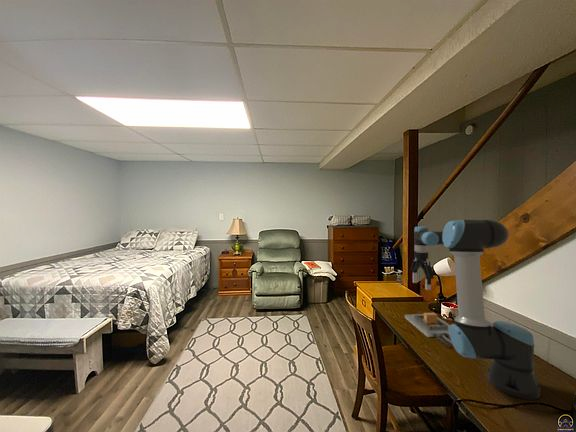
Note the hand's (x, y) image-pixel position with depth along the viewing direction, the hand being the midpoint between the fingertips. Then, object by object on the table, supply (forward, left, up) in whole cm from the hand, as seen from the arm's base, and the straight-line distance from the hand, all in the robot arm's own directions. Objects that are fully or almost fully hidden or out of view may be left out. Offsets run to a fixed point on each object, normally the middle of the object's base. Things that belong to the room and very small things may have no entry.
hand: (421, 286), depth 152 cm
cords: (-25, 0, -21) cm, 33 cm away
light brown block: (-8, -1, -19) cm, 21 cm away
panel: (-8, -1, -21) cm, 23 cm away
